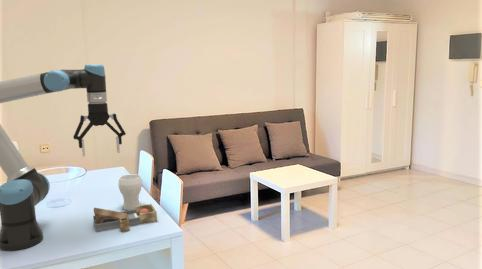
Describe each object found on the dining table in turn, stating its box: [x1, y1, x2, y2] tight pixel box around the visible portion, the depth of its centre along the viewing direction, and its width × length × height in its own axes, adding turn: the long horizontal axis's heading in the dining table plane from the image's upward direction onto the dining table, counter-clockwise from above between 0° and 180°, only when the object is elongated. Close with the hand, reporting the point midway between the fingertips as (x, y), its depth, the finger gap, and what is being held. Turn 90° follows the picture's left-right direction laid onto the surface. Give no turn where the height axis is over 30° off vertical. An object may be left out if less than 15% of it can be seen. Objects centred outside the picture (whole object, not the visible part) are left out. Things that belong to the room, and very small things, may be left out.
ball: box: [139, 208, 149, 215], centre depth 176 cm, size 4×4×4 cm
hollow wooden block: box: [119, 217, 131, 233], centre depth 164 cm, size 3×3×5 cm
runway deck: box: [92, 209, 142, 233], centre depth 171 cm, size 18×11×3 cm, turn 114°
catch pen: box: [136, 203, 158, 225], centre depth 176 cm, size 7×11×4 cm, turn 24°
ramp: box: [93, 207, 129, 224], centre depth 170 cm, size 14×8×6 cm, turn 114°
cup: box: [118, 173, 143, 211], centre depth 189 cm, size 11×11×15 cm
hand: (101, 154), depth 166 cm, fingers open, 13 cm apart
